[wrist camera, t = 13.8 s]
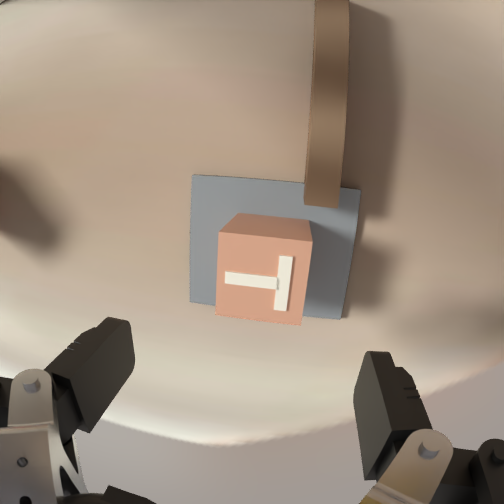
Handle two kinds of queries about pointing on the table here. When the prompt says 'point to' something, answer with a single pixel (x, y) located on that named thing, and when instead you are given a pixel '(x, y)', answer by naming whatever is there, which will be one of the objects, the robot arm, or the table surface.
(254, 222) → the terracotta block
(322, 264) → the slate mat
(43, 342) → the table surface
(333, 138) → the walnut screen
